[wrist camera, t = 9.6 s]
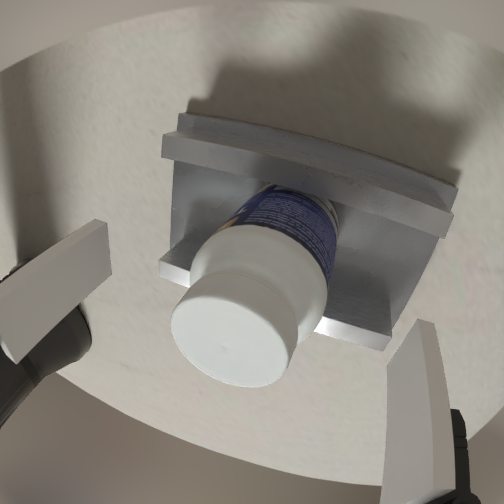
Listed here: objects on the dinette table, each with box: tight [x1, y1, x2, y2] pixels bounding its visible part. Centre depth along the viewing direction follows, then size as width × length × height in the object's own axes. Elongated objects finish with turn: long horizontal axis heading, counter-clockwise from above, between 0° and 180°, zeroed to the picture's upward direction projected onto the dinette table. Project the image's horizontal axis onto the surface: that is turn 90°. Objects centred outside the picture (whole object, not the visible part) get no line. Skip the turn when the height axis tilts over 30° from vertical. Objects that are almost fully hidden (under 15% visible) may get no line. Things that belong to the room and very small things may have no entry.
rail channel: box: [159, 113, 458, 351], centre depth 16 cm, size 16×10×4 cm, turn 81°
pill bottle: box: [171, 183, 339, 388], centre depth 13 cm, size 5×5×10 cm
